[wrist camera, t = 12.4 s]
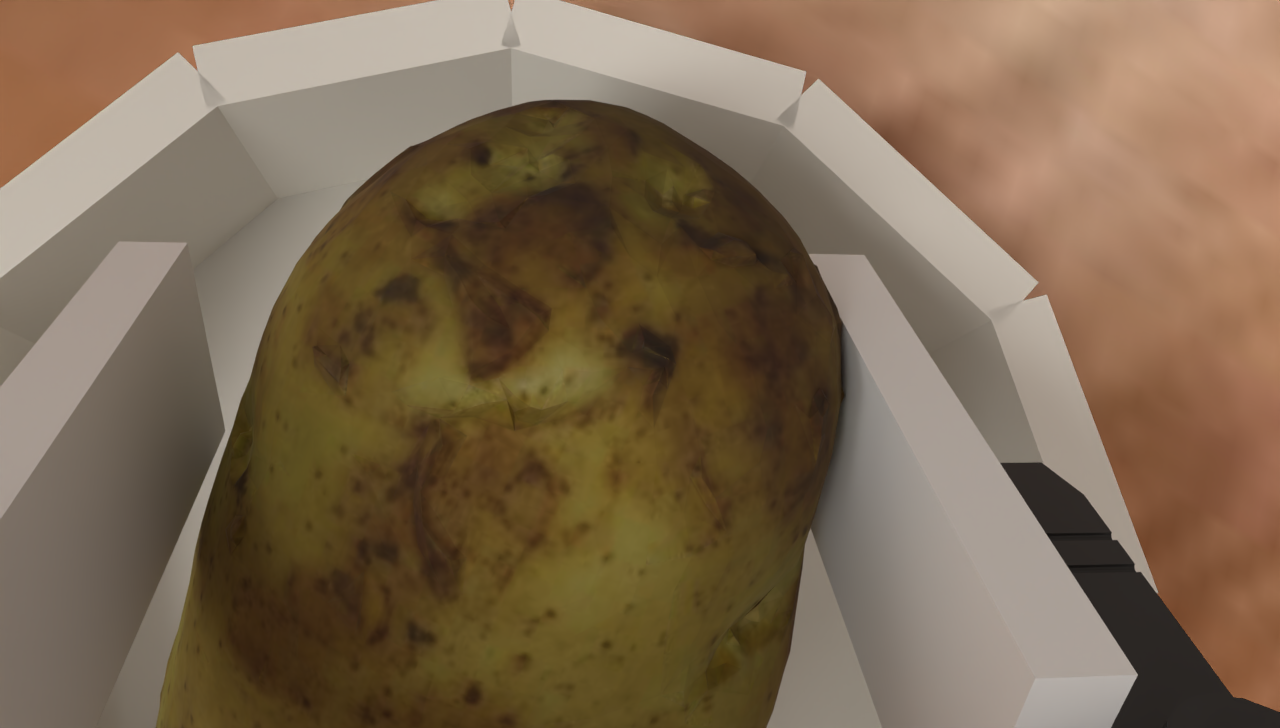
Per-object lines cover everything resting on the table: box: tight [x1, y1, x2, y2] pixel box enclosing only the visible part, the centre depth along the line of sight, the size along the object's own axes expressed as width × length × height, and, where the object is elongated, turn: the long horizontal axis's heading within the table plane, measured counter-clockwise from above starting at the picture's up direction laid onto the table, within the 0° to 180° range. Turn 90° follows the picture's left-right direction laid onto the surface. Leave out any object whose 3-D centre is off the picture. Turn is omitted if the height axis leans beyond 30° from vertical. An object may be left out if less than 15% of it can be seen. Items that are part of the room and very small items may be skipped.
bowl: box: [0, 0, 1158, 728], centre depth 15 cm, size 18×18×4 cm
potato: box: [156, 100, 845, 728], centre depth 12 cm, size 8×13×8 cm, turn 142°
